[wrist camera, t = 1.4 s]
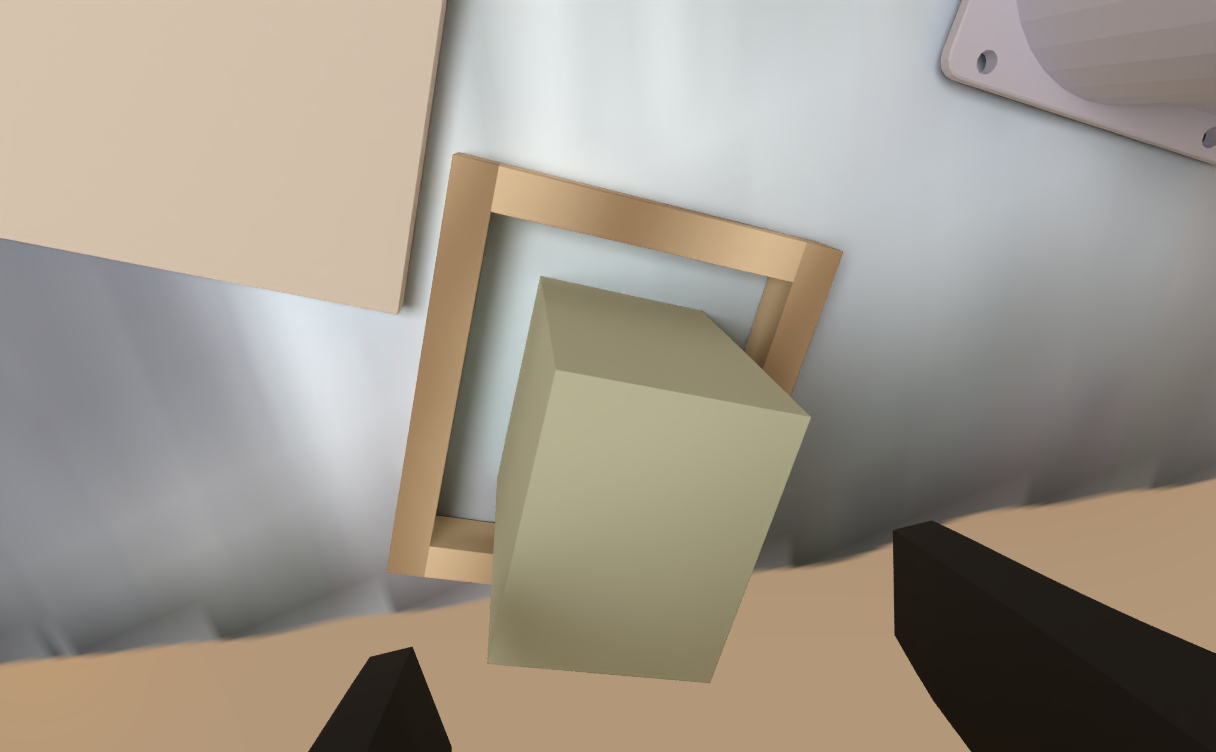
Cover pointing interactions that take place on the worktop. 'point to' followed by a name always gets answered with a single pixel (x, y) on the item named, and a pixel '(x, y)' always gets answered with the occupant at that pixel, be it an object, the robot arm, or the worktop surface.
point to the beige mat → (222, 137)
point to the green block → (632, 487)
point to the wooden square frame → (521, 193)
